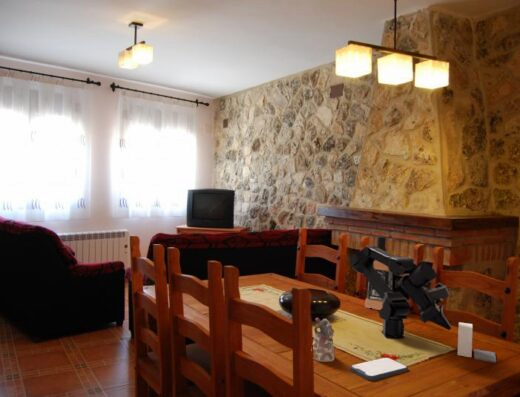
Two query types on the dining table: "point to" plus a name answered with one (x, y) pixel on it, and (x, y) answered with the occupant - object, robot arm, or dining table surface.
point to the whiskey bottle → (372, 296)
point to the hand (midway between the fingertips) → (450, 329)
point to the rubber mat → (484, 355)
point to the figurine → (323, 341)
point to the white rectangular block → (465, 339)
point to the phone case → (378, 369)
